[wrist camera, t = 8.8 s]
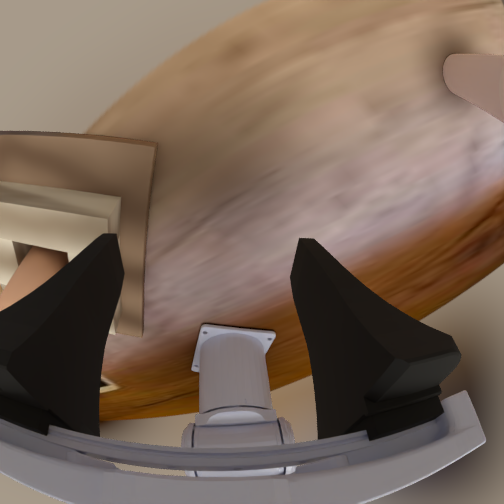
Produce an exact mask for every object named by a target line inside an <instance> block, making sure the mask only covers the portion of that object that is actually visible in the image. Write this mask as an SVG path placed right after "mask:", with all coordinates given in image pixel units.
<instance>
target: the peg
mask: <svg viewBox="0 0 504 504" xmlns="http://www.w3.org/2000/svg"><path fill="white" fill-rule="evenodd" d="M67 263H69V260H68V253H67V252H63V251H58V250H53V249H48V248H43V247H39V246H34V245H33V246H32V248H31V249H30V251H29V252H28V253H27V255H26V256H25V258H24V259H23V261H22V262H21V264H20V265H19V266H18V268H17V269H16V271H15V273H14V274H13V276H12V277H11V279H10V280H9V282H8V284H7V285H6V287H5V288H4V290H3V292H2V293H1V295H0V311H2V310H4V309H5V308H7V307H9V306H11V305H12V304H14V303H15V302H17V301H18V300H20V299H22V298H23V297H25V296H26V295H28V294H29V293H31V292H32V291H34V290H35V289H36V288H38V287H39V286H40V285H42V284H43V283H45V282H46V281H47V280H48V279H50V278H51V277H52V276H53V275H55V274H56V273H57V272H58V271H59V270H60V269H62V268H63V267H64V266H65V265H66V264H67Z"/></svg>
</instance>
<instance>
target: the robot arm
mask: <svg viewBox="0 0 504 504" xmlns="http://www.w3.org/2000/svg"><path fill="white" fill-rule="evenodd" d="M124 275H125V272H124V267H123V263H122V258H121V253H120V249H119V243H118V238H117V233H103V234H101V235H100V236H99V237H97V238H96V239H95V240H94V241H93V242H91V243H90V244H89V245H88V246H87V247H86V248H85V249H83V250H82V251H81V252H80V253H79V254H78V255H77V256H75V257H74V258H73V259H72V260H71V261H70V262H69V263H67V264H66V265H65V266H64V267H63V268H62V269H60V270H59V271H58V272H57V273H56V274H55V275H53V276H52V277H51V278H50V279H48V280H47V281H46V282H45V283H43V284H42V285H40V286H39V287H38V288H36V289H35V290H34V291H32V292H31V293H29V294H28V295H26V296H25V297H23V298H22V299H20V300H18V301H17V302H15V303H14V304H12V305H11V306H9V307H7V308H5V309H4V310H2V311H0V473H2V474H4V475H5V476H7V477H9V478H11V479H13V480H15V481H17V482H19V483H21V484H23V485H25V486H27V487H29V488H31V489H33V490H36V491H38V492H40V493H42V494H45V495H47V496H50V497H52V498H54V499H57V500H60V501H62V502H65V503H68V504H364V503H367V502H370V501H372V500H375V499H378V498H380V497H383V496H385V495H388V494H391V493H393V492H395V491H398V490H400V489H402V488H404V487H407V486H409V485H411V484H413V483H415V482H417V481H420V480H422V479H424V478H425V477H428V476H430V475H431V474H433V473H435V472H437V471H439V470H441V469H443V468H444V467H446V466H448V465H450V464H451V463H453V462H455V461H456V460H458V459H460V458H461V457H463V456H465V455H466V454H468V453H469V452H471V451H473V450H474V449H476V448H477V447H479V446H481V445H482V444H484V443H485V442H486V438H485V435H484V433H483V430H482V427H481V425H480V422H479V420H478V417H477V415H476V412H475V410H474V407H473V405H472V403H471V400H470V398H469V396H468V393H467V391H462V392H460V393H457V394H455V395H453V396H450V397H448V398H446V399H444V400H442V401H441V402H440V400H439V397H438V395H440V394H441V388H440V386H439V384H440V383H441V382H442V381H443V380H444V379H445V378H446V377H447V376H448V375H449V374H450V373H451V372H452V371H453V370H454V369H455V368H456V367H457V365H458V364H459V362H460V359H461V353H460V351H459V349H458V347H457V346H456V344H455V342H454V340H453V338H452V336H450V335H448V334H445V333H443V332H441V331H439V330H436V329H434V328H432V327H429V326H427V325H425V324H423V323H421V322H419V321H418V320H416V319H414V318H412V317H410V316H408V315H407V314H405V313H403V312H402V311H400V310H399V309H397V308H395V307H394V306H392V305H391V304H389V303H388V302H386V301H385V300H383V299H382V298H381V297H379V296H378V295H377V294H375V293H374V292H372V291H371V290H370V289H369V288H367V287H366V286H365V285H364V284H363V283H361V282H360V281H359V280H358V279H357V278H356V277H354V276H353V275H352V274H351V273H350V272H349V271H348V270H347V269H346V268H344V267H343V266H342V265H341V264H340V263H339V262H338V261H337V260H336V259H335V258H334V257H333V256H332V255H331V254H330V253H329V252H328V251H327V250H326V249H325V248H324V247H323V246H321V245H320V244H319V243H318V242H317V241H316V240H315V239H311V238H299V241H298V246H297V250H296V254H295V258H294V263H293V267H292V271H291V275H290V280H291V287H292V293H293V299H294V303H295V306H296V309H297V313H298V316H299V320H300V323H301V326H302V330H303V333H304V336H305V340H306V343H307V347H308V351H309V357H310V363H311V369H312V376H313V383H314V391H315V401H316V412H317V430H318V440H314V441H307V442H300V443H295V440H294V435H293V430H292V427H291V424H290V423H289V422H288V421H287V420H285V419H284V418H283V417H281V418H277V416H276V410H275V409H273V408H272V401H271V394H270V387H269V380H268V374H267V367H266V360H265V354H266V352H267V351H268V349H269V347H270V345H271V344H272V342H273V340H274V338H275V337H276V334H275V332H274V331H265V330H254V329H244V328H235V327H226V326H217V325H209V324H203V325H202V326H201V329H200V333H199V337H198V341H197V346H196V350H195V354H194V359H193V363H192V371H195V372H199V414H196V415H195V423H190V424H188V426H187V427H186V428H185V429H184V431H183V434H182V443H181V447H169V446H158V445H149V444H140V443H132V442H125V441H118V440H112V439H107V438H102V437H100V430H99V396H100V381H101V371H102V363H103V356H104V349H105V345H106V341H107V337H108V333H109V330H110V327H111V324H112V320H113V317H114V314H115V311H116V308H117V304H118V301H119V298H120V295H121V290H122V286H123V280H124ZM99 459H101V460H99ZM103 460H106V461H111V462H117V463H122V464H128V465H135V466H142V467H151V468H159V469H171V470H184V471H185V474H186V476H171V475H157V474H149V473H140V472H133V471H125V470H120V469H119V468H117V467H116V466H115V465H114V464H113V463H109V462H106V461H103ZM303 464H304V465H303ZM297 465H300V466H297Z"/></svg>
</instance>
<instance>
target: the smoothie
mask: <svg viewBox="0 0 504 504" xmlns="http://www.w3.org/2000/svg"><path fill="white" fill-rule="evenodd" d="M443 77H444V81H445V84H446V86H447V87H448V89H449V90H450V91H451V92H452V93H453V94H455V95H457V96H459V97H461V98H463V99H465V100H467V101H468V102H470V103H472V104H474V105H476V106H477V107H479V108H481V109H482V110H484V111H486V112H487V113H489V114H491V115H492V116H494V117H495V118H497V119H498V120H500V121H502V122H503V123H504V55H492V54H451V55H449V56H448V57H447V58H446V60H445V62H444V65H443Z"/></svg>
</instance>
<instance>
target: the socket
mask: <svg viewBox="0 0 504 504" xmlns="http://www.w3.org/2000/svg"><path fill="white" fill-rule="evenodd" d="M157 146H158V143H155V142H148V141H141V140H133V139H126V138H117V137H108V136H98V135H88V134H75V133H60V132H40V131H0V284H1V287H2V289H3V290H4V288H5V287H6V285H7V284H8V282H9V280H10V279H11V277H12V276H13V274H14V273H15V271H16V269H17V268H18V266H19V265H20V264H21V262H22V261H23V259H24V258H25V256H26V255H27V253H28V252H29V251H30V249H31V248H32V246H33V245H34V246H39V247H43V248H48V249H53V250H58V251H63V252H67V253H68V260H69V262H70V261H71V260H72V259H73V258H74V257H75V256H77V255H78V254H79V253H80V252H81V251H82V250H83V249H85V248H86V247H87V246H88V245H89V244H90V243H91V242H93V241H94V240H95V239H96V238H97V237H99V236H100V235H101V234H103V233H117V238H118V243H119V249H120V253H121V258H122V263H123V267H124V272H125V275H124V280H123V286H122V290H121V295H120V298H119V301H118V304H117V308H116V311H115V314H114V317H113V320H112V324H111V327H110V330H109V333H108V334H113V335H116V333H119V334H124V335H130V336H135V337H141V338H142V336H143V331H144V325H143V315H144V273H145V254H146V239H147V227H148V216H149V206H150V197H151V188H152V180H153V173H154V166H155V159H156V152H157Z"/></svg>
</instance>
